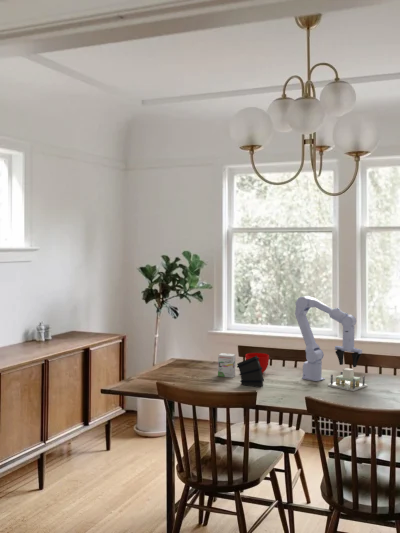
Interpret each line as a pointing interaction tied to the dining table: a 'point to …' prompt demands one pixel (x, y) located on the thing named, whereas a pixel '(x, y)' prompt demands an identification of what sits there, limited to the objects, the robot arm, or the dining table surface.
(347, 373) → the sage board
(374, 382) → the dining table surface
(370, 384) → the dining table surface
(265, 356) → the ceramic cup
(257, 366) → the magazine
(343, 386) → the plate
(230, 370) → the ink box
